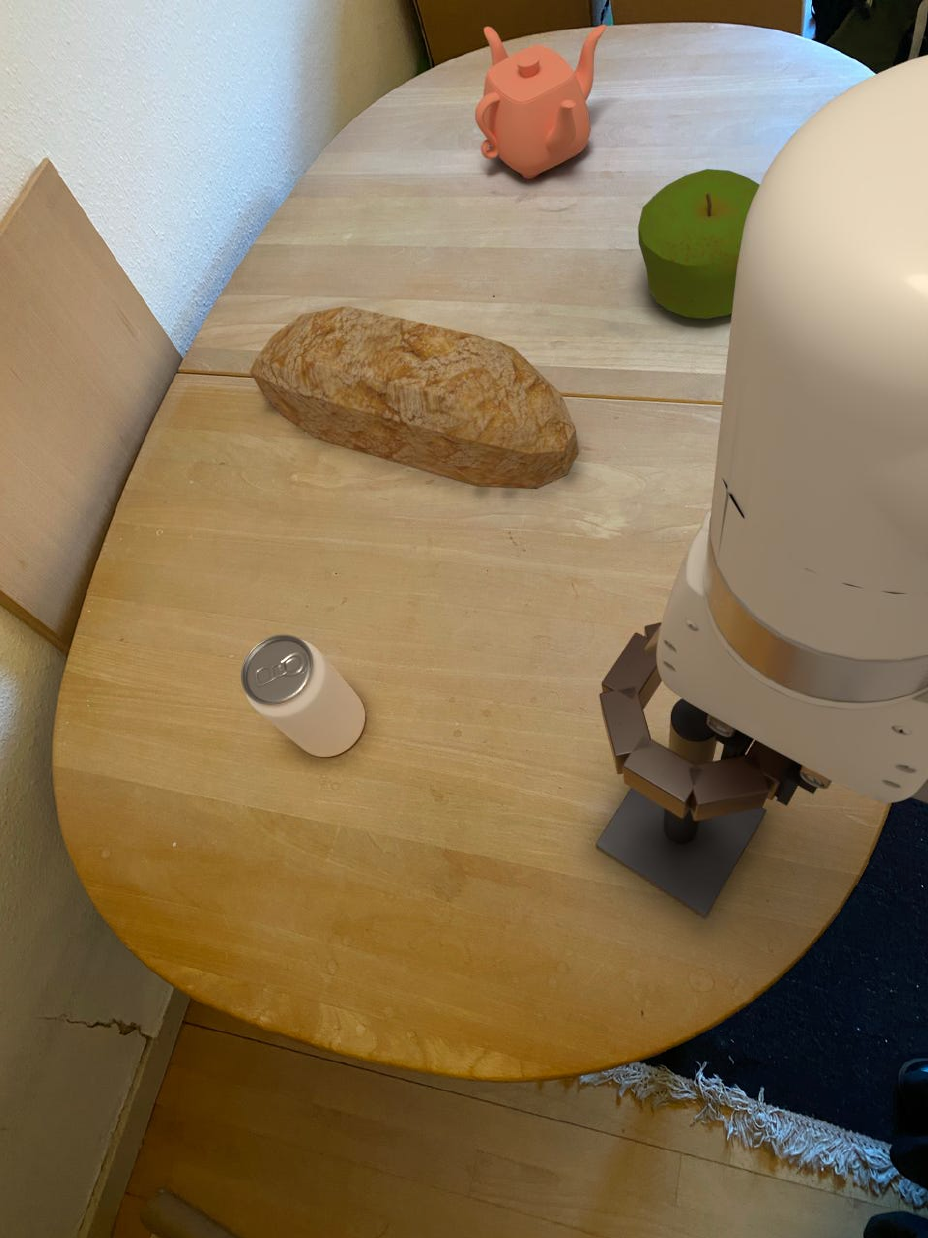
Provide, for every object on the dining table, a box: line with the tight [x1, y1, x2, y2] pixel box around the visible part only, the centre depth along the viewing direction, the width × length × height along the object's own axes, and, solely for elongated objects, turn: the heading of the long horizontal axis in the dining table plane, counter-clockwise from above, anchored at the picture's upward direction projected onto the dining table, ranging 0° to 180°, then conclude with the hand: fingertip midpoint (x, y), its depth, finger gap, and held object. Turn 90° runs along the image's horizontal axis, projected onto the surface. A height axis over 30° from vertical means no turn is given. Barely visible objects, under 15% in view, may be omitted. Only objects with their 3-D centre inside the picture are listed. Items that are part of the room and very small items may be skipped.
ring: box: [598, 621, 792, 821], centre depth 39 cm, size 9×9×3 cm
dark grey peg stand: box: [595, 698, 768, 920], centre depth 51 cm, size 9×9×25 cm
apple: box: [637, 168, 760, 320], centre depth 80 cm, size 12×12×11 cm
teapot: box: [474, 24, 607, 180], centre depth 95 cm, size 14×14×11 cm
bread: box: [249, 306, 579, 489], centre depth 81 cm, size 36×11×10 cm, turn 63°
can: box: [240, 634, 366, 758], centre depth 67 cm, size 6×6×12 cm
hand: (768, 759), depth 39 cm, fingers closed on ring, 2 cm apart
